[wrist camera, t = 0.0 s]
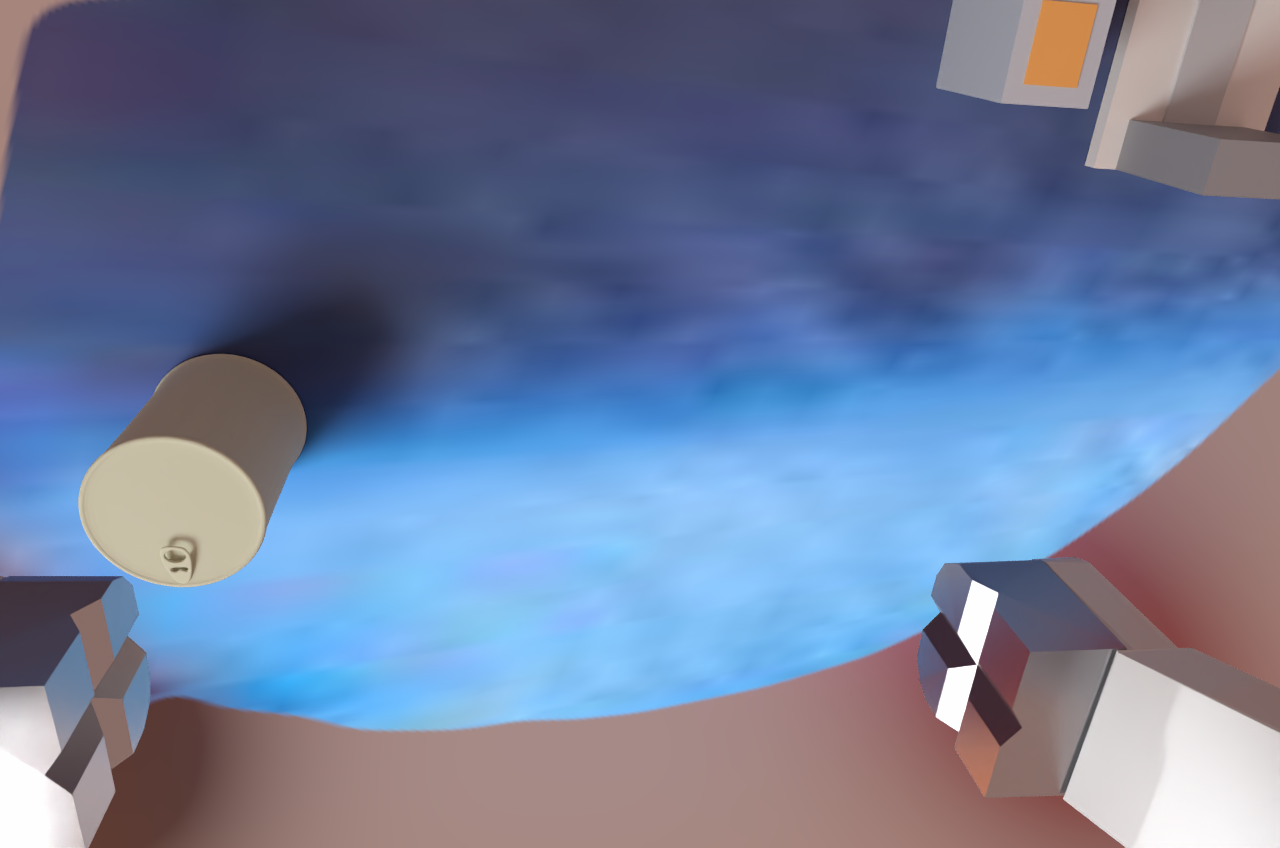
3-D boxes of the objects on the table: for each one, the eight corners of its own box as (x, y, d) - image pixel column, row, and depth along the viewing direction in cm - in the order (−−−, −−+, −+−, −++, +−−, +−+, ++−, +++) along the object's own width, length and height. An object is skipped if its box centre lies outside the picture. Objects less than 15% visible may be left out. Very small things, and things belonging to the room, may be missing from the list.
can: (162, 485, 59) (89, 595, 49) (141, 351, 56) (56, 439, 45) (312, 485, 61) (272, 592, 50) (301, 354, 57) (256, 440, 46)
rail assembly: (1152, -84, 53) (1269, -97, 45) (1318, -67, 55) (1460, -76, 47) (1084, 165, 59) (1177, 194, 51) (1237, 174, 61) (1350, 202, 53)
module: (957, -23, 53) (1030, -24, 46) (1037, -16, 54) (1121, -16, 47) (935, 87, 56) (1001, 103, 48) (1012, 92, 56) (1088, 109, 49)
